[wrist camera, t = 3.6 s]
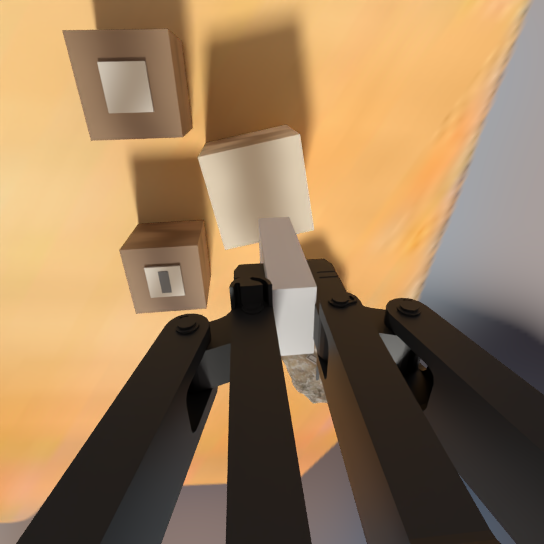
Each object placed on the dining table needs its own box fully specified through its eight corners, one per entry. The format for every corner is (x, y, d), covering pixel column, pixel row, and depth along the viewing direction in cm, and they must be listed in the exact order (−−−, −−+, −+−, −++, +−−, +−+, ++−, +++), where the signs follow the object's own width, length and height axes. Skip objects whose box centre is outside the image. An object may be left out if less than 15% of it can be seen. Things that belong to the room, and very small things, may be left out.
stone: (319, 277, 36) (333, 318, 30) (356, 352, 42) (374, 399, 36) (259, 303, 37) (261, 348, 31) (303, 373, 43) (311, 422, 37)
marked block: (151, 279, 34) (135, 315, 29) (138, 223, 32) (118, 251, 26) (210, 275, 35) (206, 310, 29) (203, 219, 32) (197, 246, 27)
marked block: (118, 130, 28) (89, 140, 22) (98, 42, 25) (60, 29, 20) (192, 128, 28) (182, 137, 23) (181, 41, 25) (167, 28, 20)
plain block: (227, 219, 32) (224, 249, 26) (205, 142, 29) (197, 157, 23) (299, 203, 32) (314, 230, 26) (286, 124, 29) (299, 134, 23)
